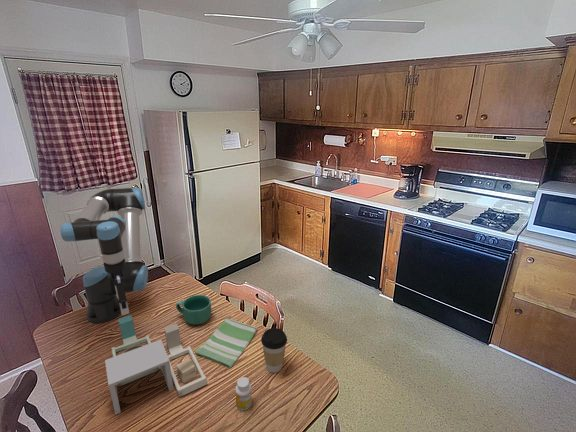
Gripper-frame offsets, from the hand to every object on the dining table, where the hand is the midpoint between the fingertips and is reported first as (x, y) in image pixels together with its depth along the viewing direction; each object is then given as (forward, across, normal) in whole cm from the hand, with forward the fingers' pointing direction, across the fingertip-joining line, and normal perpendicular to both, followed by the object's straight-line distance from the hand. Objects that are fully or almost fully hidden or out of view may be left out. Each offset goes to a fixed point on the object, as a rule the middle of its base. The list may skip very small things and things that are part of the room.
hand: (123, 305), depth 131 cm
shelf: (+16, +32, 0) cm, 35 cm away
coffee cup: (+16, +49, +45) cm, 68 cm away
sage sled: (+16, +13, 0) cm, 20 cm away
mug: (+17, +4, +28) cm, 33 cm away
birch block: (+16, +35, +15) cm, 41 cm away
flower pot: (+16, +21, 0) cm, 27 cm away
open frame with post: (+16, +29, +15) cm, 36 cm away
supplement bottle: (+16, +57, +28) cm, 65 cm away
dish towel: (+17, +27, +35) cm, 47 cm away
